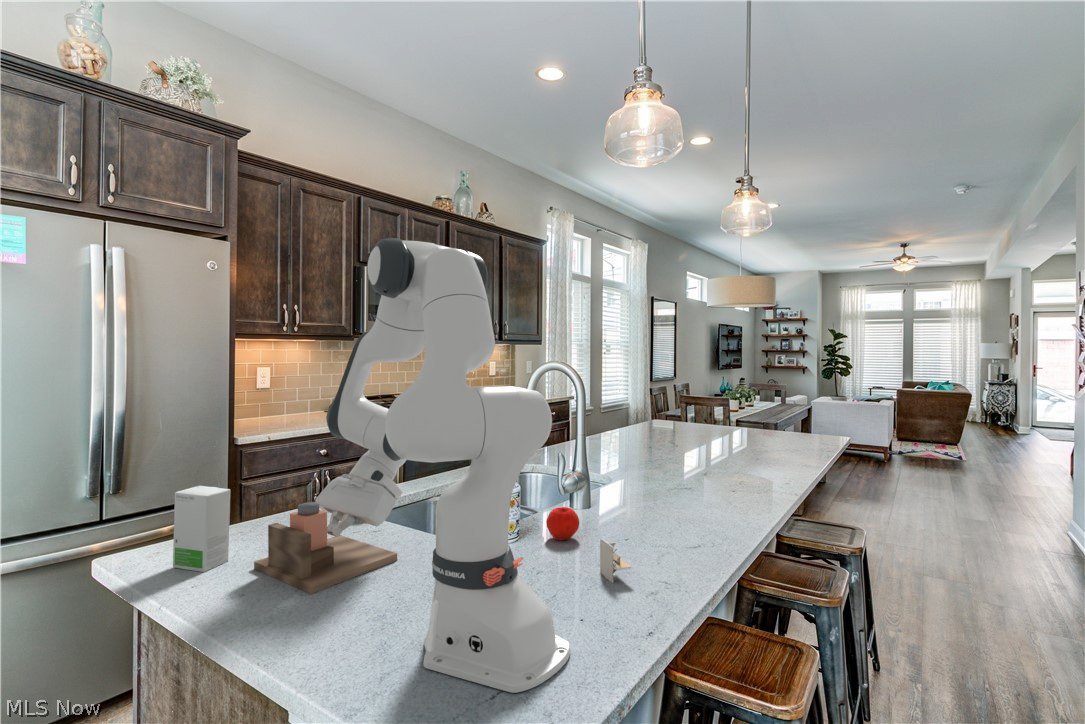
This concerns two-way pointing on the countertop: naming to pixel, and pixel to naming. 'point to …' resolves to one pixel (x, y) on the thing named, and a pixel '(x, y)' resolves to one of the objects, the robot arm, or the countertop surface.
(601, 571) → the architectural model
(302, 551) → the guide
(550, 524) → the apple
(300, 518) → the pink square bottle
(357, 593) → the countertop surface
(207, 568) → the skincare box
